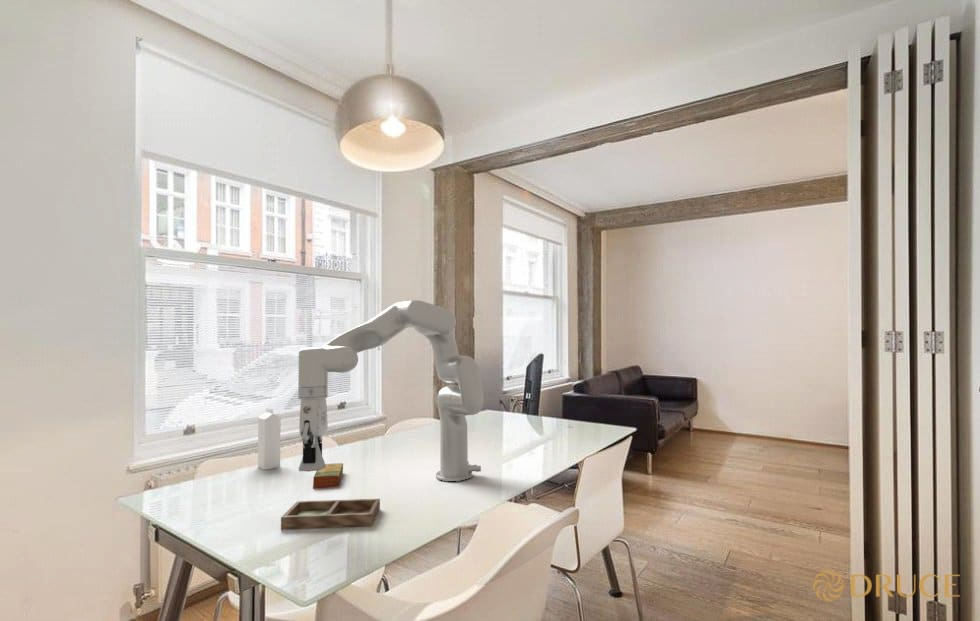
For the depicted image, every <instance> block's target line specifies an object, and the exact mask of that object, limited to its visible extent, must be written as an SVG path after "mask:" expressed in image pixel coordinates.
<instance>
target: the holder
mask: <svg viewBox="0 0 980 621" xmlns="http://www.w3.org/2000/svg"><path fill="white" fill-rule="evenodd" d="M380 501H381V498H360V499H359V498H358V499H331V500H330V499H329V500H328V499H327V500H324V499H323V500H322V499H321V500H298V501H296V502H295V503H294V504H293V505H292V506H291V507H290V508H289V509H288V510H286V512H284V514H283V515H282V516H280V530H283V529H285V530H305V529H306V530H311V529H335V528H336V529H340V528H365V527H367V528H368V527H373V525H374V524H375V521H376V519H377V516H378V514H379V512H380V511H381V502H380Z"/></svg>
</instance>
